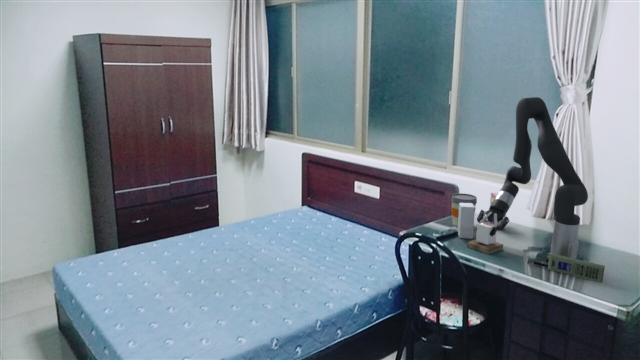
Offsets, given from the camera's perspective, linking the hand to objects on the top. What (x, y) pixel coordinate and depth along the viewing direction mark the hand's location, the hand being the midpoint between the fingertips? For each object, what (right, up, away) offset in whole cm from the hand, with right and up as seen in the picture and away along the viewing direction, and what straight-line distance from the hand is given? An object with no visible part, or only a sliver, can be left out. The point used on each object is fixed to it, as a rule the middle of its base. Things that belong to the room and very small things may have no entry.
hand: (484, 233), depth 214 cm
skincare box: (-4, -3, +18) cm, 18 cm away
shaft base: (+1, -7, +3) cm, 7 cm away
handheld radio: (+25, -14, -23) cm, 36 cm away
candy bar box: (+17, 0, +32) cm, 36 cm away
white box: (+1, -4, +2) cm, 5 cm away
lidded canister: (0, 0, +34) cm, 34 cm away
